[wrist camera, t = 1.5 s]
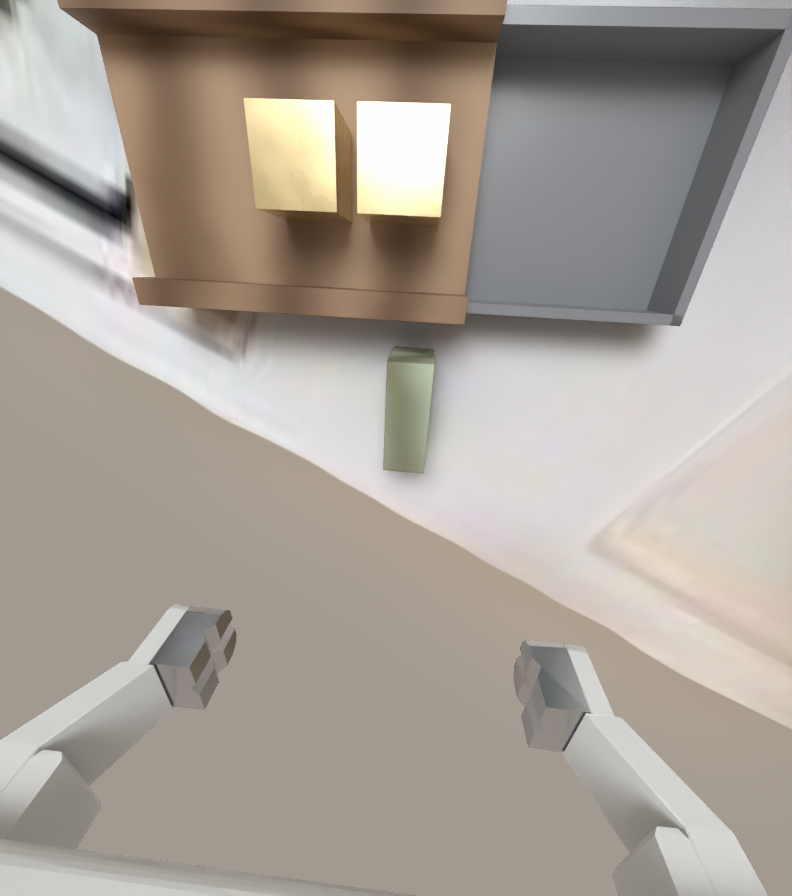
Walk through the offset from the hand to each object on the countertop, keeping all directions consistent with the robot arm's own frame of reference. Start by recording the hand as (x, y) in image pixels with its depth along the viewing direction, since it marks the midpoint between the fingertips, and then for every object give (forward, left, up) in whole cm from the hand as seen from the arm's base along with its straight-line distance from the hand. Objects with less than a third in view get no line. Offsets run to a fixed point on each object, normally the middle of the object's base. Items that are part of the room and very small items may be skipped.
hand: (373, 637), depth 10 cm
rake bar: (0, 0, -21) cm, 21 cm away
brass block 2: (+1, -14, -18) cm, 22 cm away
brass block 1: (+6, -14, -18) cm, 23 cm away
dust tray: (-10, -14, -21) cm, 26 cm away
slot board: (+7, -14, -21) cm, 26 cm away
